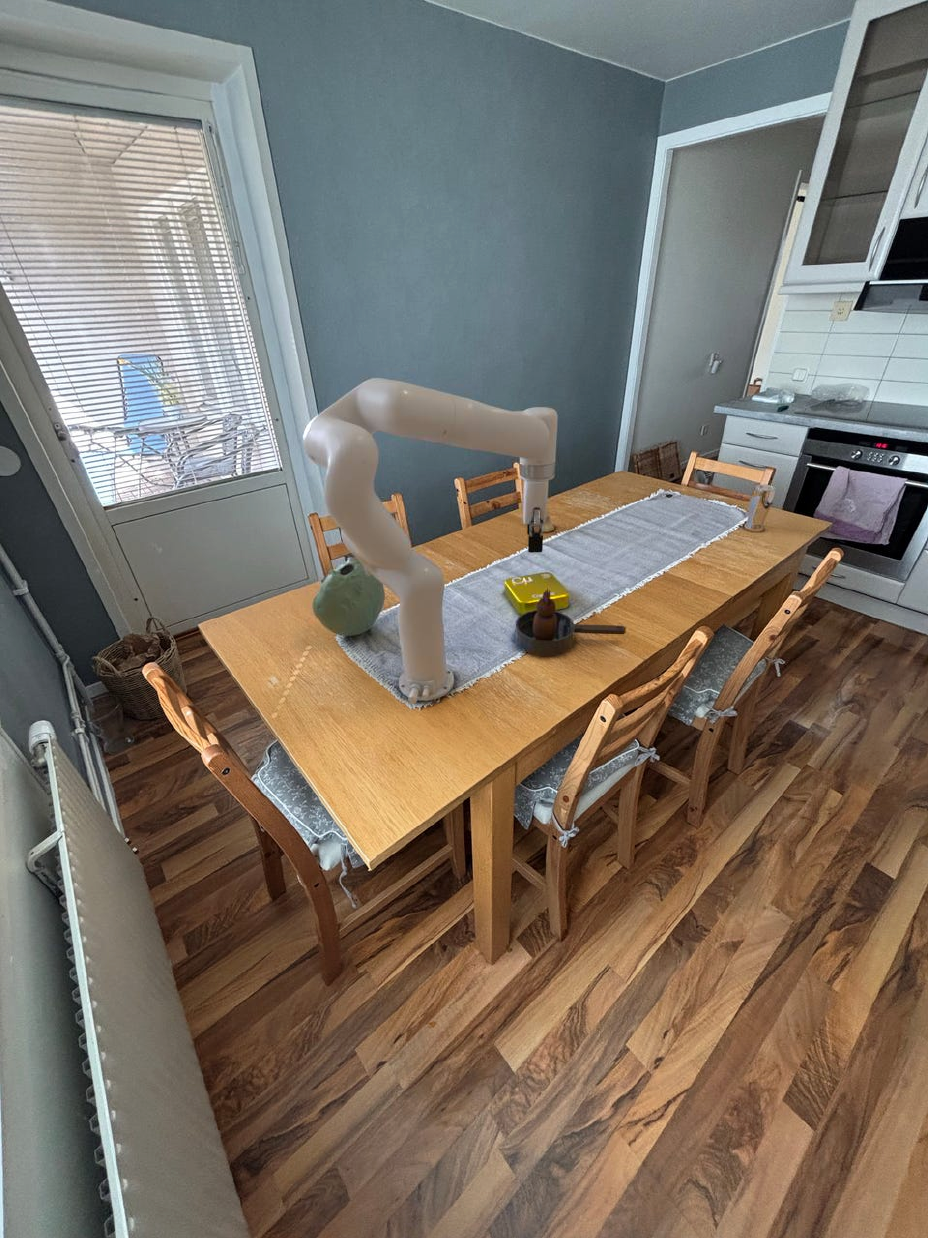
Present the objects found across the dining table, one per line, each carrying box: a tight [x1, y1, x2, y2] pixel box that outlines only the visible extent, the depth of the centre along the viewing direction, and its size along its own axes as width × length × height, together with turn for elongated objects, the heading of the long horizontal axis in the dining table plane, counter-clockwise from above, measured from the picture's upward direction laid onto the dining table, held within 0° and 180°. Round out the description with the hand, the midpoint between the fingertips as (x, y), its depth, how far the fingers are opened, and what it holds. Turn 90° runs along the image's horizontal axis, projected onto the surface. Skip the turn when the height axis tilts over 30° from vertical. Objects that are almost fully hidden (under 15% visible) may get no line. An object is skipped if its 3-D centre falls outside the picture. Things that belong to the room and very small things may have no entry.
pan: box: [514, 610, 575, 657], centre depth 127 cm, size 15×15×4 cm
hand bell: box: [542, 512, 555, 533], centre depth 185 cm, size 8×8×16 cm
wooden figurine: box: [533, 589, 557, 641], centre depth 124 cm, size 7×6×15 cm
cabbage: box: [312, 556, 386, 637], centre depth 129 cm, size 16×19×20 cm
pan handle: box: [574, 623, 627, 635], centre depth 125 cm, size 2×13×1 cm, turn 83°
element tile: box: [504, 571, 570, 616], centre depth 144 cm, size 15×15×5 cm
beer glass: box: [743, 484, 777, 532], centre depth 177 cm, size 7×7×15 cm
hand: (534, 542), depth 118 cm, fingers open, 9 cm apart
